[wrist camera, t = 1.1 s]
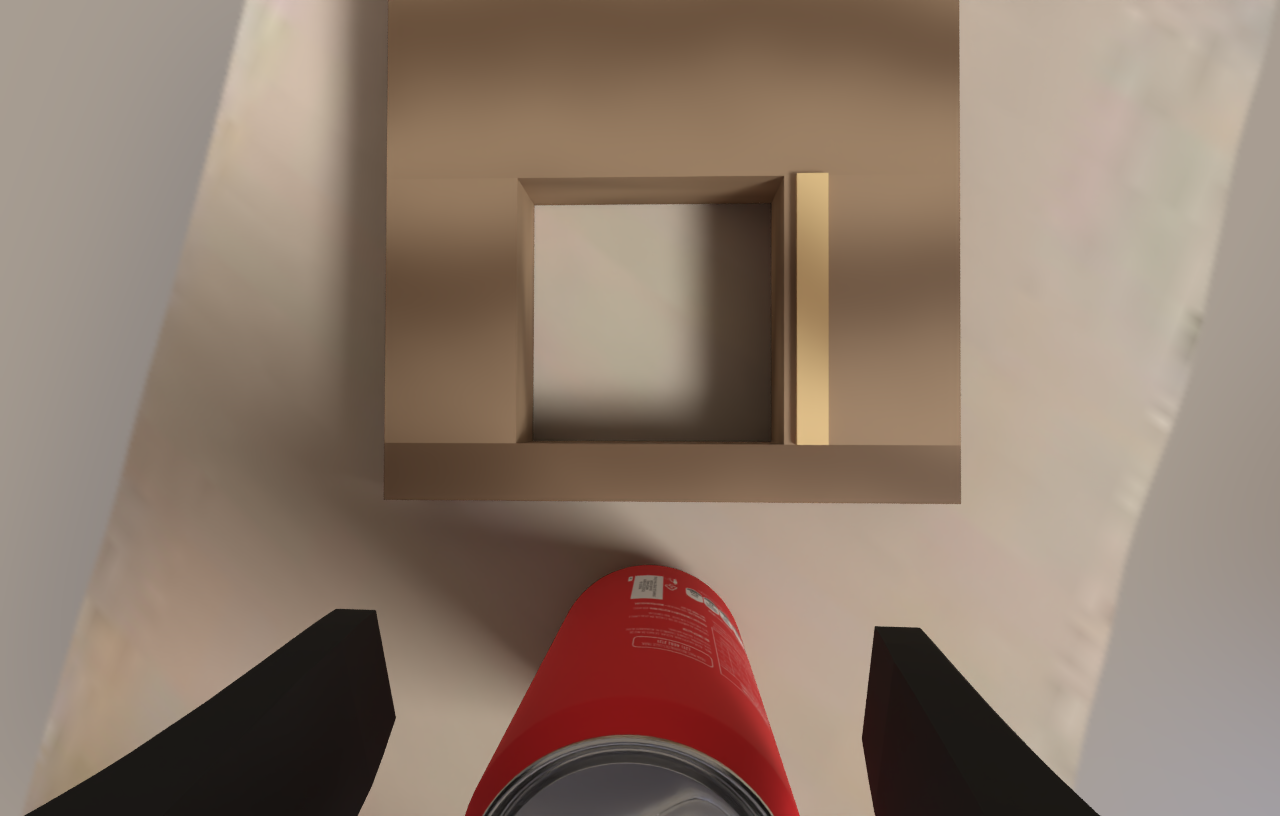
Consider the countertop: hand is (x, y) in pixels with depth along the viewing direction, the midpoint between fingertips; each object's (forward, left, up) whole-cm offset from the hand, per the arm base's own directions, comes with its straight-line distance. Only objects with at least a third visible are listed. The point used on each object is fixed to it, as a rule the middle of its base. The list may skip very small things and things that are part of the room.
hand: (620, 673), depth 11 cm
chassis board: (+9, -1, -11) cm, 15 cm away
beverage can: (-3, 0, -11) cm, 12 cm away
